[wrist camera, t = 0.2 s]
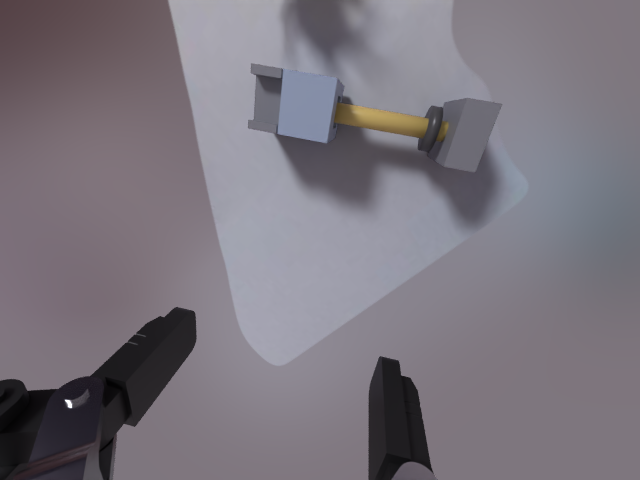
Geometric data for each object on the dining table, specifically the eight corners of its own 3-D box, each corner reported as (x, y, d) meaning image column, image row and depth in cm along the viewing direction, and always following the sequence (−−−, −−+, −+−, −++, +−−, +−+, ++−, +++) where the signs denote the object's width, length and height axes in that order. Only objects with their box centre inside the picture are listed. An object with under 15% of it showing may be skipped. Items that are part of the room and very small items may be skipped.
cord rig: (270, 126, 36) (246, 129, 29) (275, 73, 33) (249, 61, 26) (452, 160, 34) (475, 172, 27) (471, 106, 32) (502, 103, 24)
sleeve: (295, 130, 35) (277, 133, 28) (301, 79, 32) (283, 68, 25) (335, 137, 34) (326, 143, 27) (344, 86, 32) (337, 77, 25)
